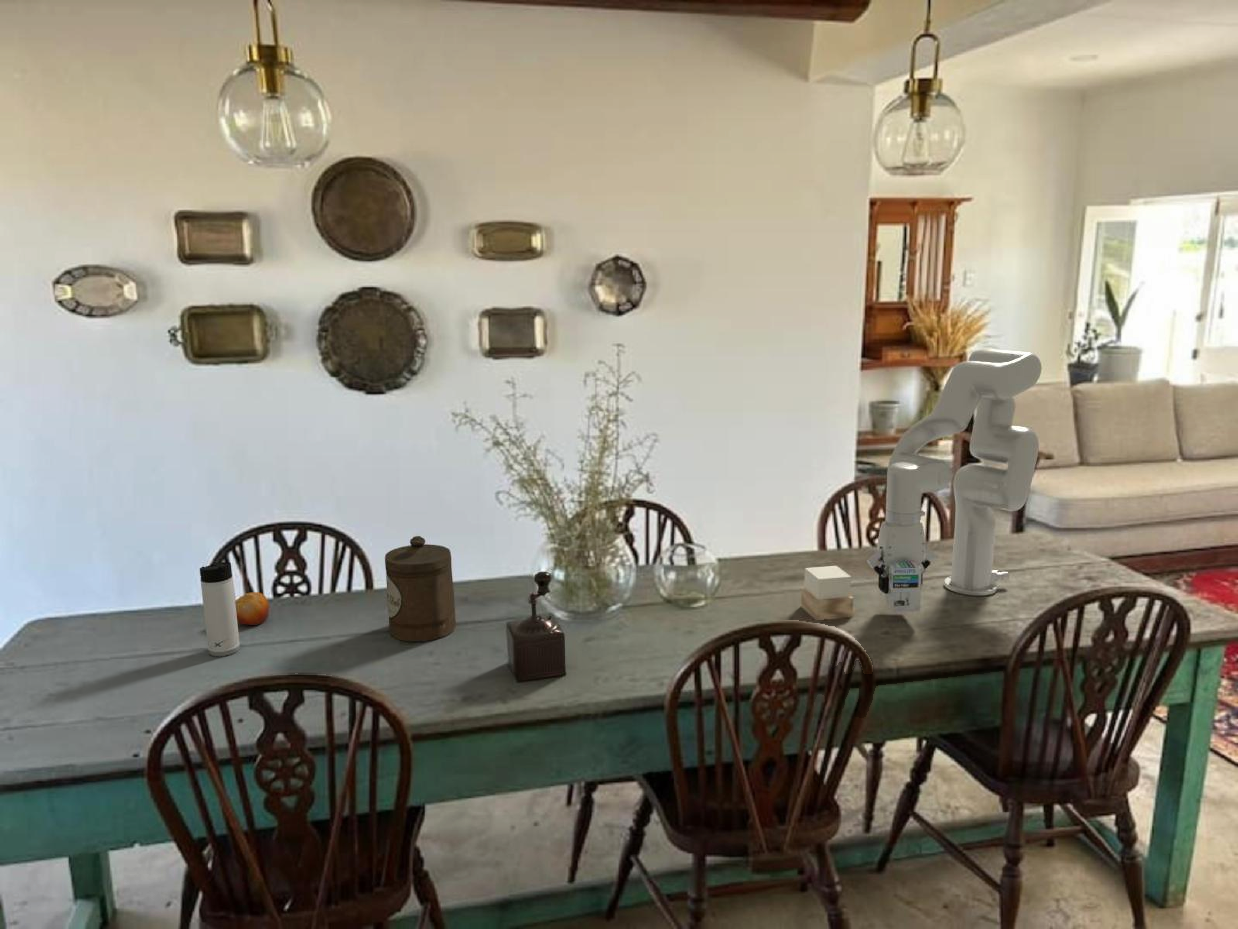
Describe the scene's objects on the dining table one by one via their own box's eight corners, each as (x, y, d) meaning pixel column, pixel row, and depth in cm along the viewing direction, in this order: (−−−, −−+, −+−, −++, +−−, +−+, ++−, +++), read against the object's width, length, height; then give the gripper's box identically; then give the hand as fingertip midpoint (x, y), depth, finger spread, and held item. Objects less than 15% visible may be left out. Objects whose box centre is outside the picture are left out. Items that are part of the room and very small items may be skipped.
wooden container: (394, 618, 220) (388, 528, 215) (458, 615, 221) (453, 526, 216) (384, 644, 205) (378, 548, 201) (452, 641, 207) (448, 546, 202)
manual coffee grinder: (570, 676, 189) (568, 592, 185) (516, 683, 186) (513, 598, 182) (552, 646, 204) (550, 567, 200) (502, 652, 200) (499, 573, 196)
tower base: (835, 604, 227) (836, 584, 226) (852, 618, 218) (853, 597, 217) (801, 607, 225) (801, 587, 224) (816, 621, 217) (817, 601, 215)
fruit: (283, 610, 221) (267, 588, 216) (263, 637, 216) (247, 615, 211) (258, 605, 225) (242, 584, 219) (237, 631, 220) (220, 610, 214)
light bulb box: (920, 612, 212) (922, 567, 209) (891, 612, 212) (892, 568, 210) (907, 594, 222) (909, 551, 220) (879, 595, 223) (880, 552, 220)
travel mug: (221, 659, 198) (212, 570, 194) (202, 653, 201) (192, 564, 197) (247, 649, 203) (238, 561, 199) (228, 643, 207) (218, 556, 202)
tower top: (835, 585, 226) (836, 565, 224) (849, 596, 218) (851, 576, 217) (804, 588, 224) (804, 568, 223) (817, 599, 216) (818, 579, 215)
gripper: (929, 508, 217) (926, 580, 222) (859, 516, 214) (857, 588, 218) (946, 518, 210) (943, 591, 215) (874, 525, 207) (872, 600, 211)
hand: (900, 589), depth 216 cm, fingers closed on light bulb box, 7 cm apart
